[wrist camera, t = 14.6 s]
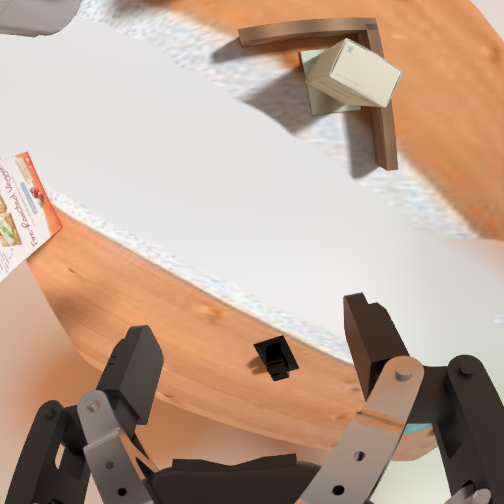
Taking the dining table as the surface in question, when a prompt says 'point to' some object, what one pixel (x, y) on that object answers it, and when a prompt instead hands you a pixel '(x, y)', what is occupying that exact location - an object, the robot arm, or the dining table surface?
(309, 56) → the wooden corner frame
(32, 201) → the cracker box
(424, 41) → the dining table surface
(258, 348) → the black tapered holder
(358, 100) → the skincare box
